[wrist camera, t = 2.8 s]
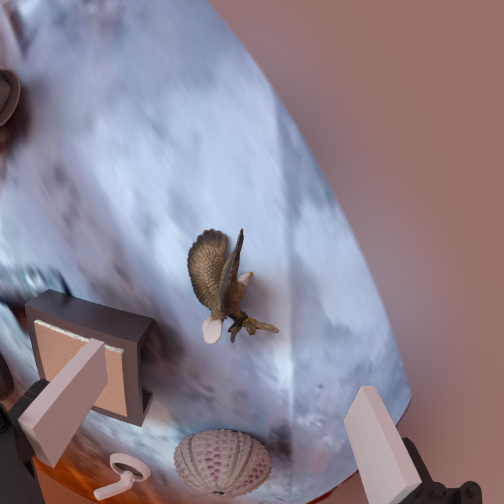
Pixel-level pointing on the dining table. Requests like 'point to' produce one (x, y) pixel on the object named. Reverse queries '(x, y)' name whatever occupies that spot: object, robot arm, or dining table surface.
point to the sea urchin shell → (222, 463)
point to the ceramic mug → (8, 93)
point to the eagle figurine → (220, 285)
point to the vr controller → (123, 475)
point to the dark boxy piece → (78, 334)
